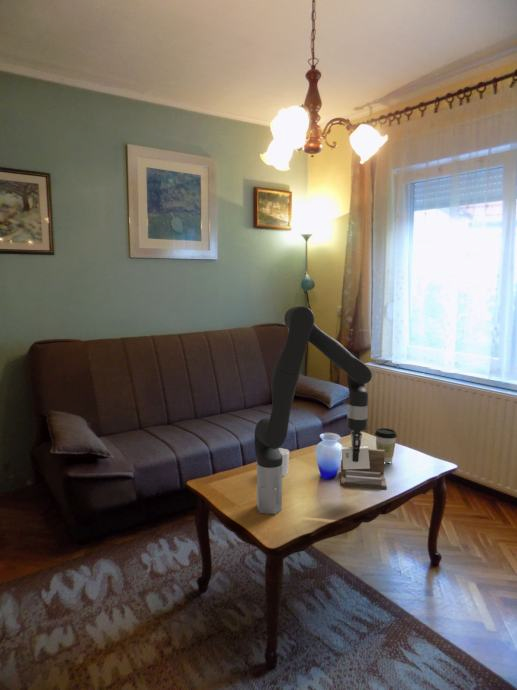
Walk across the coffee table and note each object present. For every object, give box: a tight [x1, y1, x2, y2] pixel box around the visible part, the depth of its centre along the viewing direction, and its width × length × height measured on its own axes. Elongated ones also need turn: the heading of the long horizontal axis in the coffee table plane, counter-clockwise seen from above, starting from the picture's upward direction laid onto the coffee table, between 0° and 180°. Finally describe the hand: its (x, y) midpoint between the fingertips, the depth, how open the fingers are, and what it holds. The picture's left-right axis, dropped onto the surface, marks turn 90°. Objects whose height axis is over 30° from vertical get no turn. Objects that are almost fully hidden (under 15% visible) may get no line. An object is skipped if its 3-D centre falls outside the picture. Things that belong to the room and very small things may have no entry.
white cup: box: [278, 447, 290, 477], centre depth 193 cm, size 8×8×10 cm
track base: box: [340, 448, 388, 490], centre depth 187 cm, size 14×18×11 cm
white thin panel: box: [341, 445, 370, 469], centre depth 171 cm, size 2×10×8 cm, turn 79°
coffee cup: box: [374, 427, 398, 463], centre depth 206 cm, size 10×10×15 cm
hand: (355, 459), depth 171 cm, fingers closed on white thin panel, 2 cm apart
